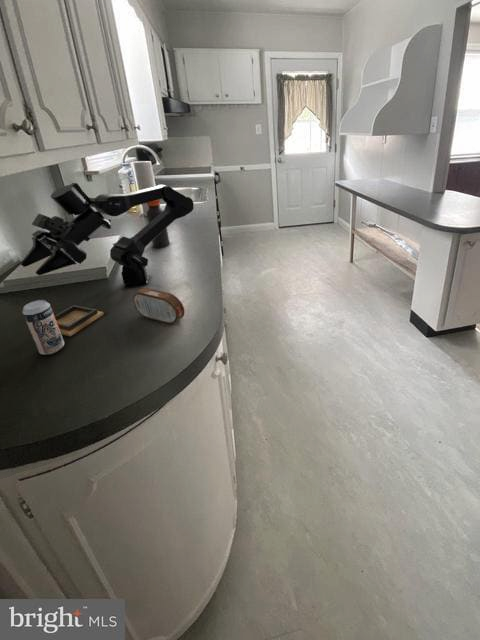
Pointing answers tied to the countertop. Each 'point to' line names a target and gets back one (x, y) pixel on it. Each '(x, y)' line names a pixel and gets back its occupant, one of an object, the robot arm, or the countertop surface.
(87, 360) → the countertop surface
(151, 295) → the tin
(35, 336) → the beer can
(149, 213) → the bottle
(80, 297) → the countertop surface
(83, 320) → the socket pad
